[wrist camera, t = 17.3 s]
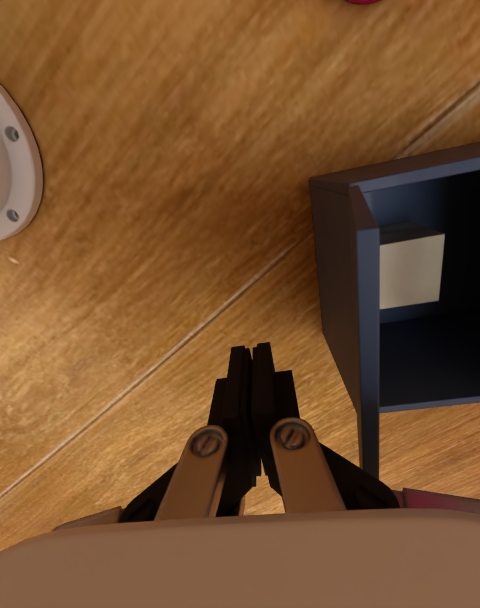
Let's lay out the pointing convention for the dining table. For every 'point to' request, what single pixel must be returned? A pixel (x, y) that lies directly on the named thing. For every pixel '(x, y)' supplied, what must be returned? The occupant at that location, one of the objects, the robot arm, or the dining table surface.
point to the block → (409, 264)
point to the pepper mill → (363, 1)
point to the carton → (418, 317)
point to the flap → (366, 325)
